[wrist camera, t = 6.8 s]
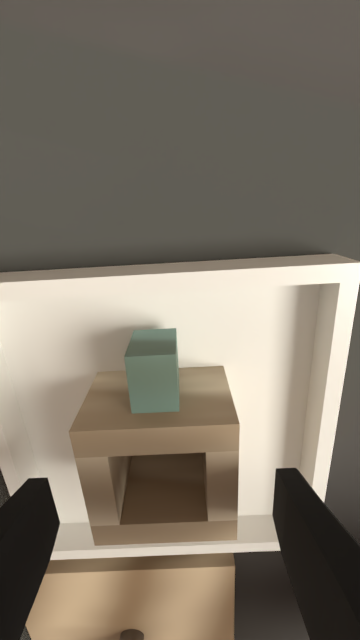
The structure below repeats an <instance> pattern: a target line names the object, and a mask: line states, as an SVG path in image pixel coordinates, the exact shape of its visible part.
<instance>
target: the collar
mask: <svg viewBox="0 0 360 640" xmlns="http://www.w3.org/2000/svg"><path fill="white" fill-rule="evenodd" d="M124 360H125V368H126V371H106V372H97V375H96V377H95V379H94V381H93V383H92V385H91V387H90V389H89V391H88V393H87V395H86V397H85V399H84V401H83V403H82V405H81V407H80V409H79V412H78V414H77V416H76V418H75V420H74V422H73V424H72V426H71V428H70V430H69V436H70V440H71V445H72V449H73V453H74V458H75V462H76V466H77V471H78V475H79V479H80V484H81V488H82V493H83V497H84V501H85V506H86V510H87V514H88V519H89V523H90V527H91V532H92V536H93V540H94V545H95V546H103V545H128V544H153V543H178V542H203V541H228V540H237V523H238V478H239V433H240V423H239V420H238V416H237V413H236V409H235V406H234V402H233V398H232V395H231V391H230V388H229V384H228V381H227V377H226V373H225V370H224V366H209V367H188V368H179V365H178V349H177V332H176V328H168V329H148V330H134V331H133V334H132V336H131V339H130V342H129V345H128V347H127V350H126V353H125V356H124Z"/></svg>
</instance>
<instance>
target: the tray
mask: <svg viewBox="0 0 360 640" xmlns="http://www.w3.org/2000/svg"><path fill="white" fill-rule="evenodd" d="M359 282H360V261H356V260H353V259H350V258H347V257H343V256H340V255H337V254H319V255H301V256H284V257H266V258H248V259H230V260H213V261H195V262H177V263H160V264H142V265H124V266H106V267H89V268H71V269H53V270H35V271H18V272H0V469H1V471H2V474H3V477H4V480H5V483H6V486H7V488H8V491H9V494H10V497H11V496H12V495H13V494H14V493H15V492H16V491H17V490H18V489H19V488H20V487H21V486H22V485H23V484H24V483H25V482H26V481H27V479H28V478H47V477H48V481H49V485H50V488H51V492H52V495H53V499H54V502H55V506H56V510H57V513H58V517H59V520H60V525H59V529H58V533H57V537H56V541H55V544H54V548H53V551H52V555H51V558H50V560H65V559H89V558H113V557H138V556H162V555H186V554H210V553H235V552H259V551H281V550H280V546H279V542H278V537H277V533H276V529H275V524H274V520H273V516H272V513H273V500H274V486H275V473H276V468H297V469H298V470H299V471H300V473H301V474H302V475H303V477H304V478H305V479H306V481H307V482H308V483H309V485H310V486H311V487H312V489H313V490H314V491H315V492H316V494H317V495H318V496H319V497H320V499H321V500H322V501H323V502H324V501H325V494H326V488H327V482H328V476H329V469H330V463H331V457H332V451H333V444H334V438H335V432H336V426H337V419H338V413H339V407H340V401H341V394H342V388H343V382H344V376H345V370H346V363H347V357H348V351H349V345H350V338H351V332H352V326H353V320H354V313H355V307H356V301H357V295H358V288H359ZM168 328H176V332H177V349H178V365H179V368H188V367H209V366H224V370H225V373H226V377H227V381H228V384H229V388H230V391H231V395H232V398H233V402H234V406H235V409H236V413H237V416H238V420H239V423H240V433H239V478H238V523H237V540H228V541H203V542H178V543H153V544H128V545H103V546H95V545H94V540H93V536H92V532H91V527H90V523H89V519H88V514H87V510H86V506H85V501H84V497H83V493H82V488H81V484H80V479H79V475H78V471H77V466H76V462H75V458H74V453H73V449H72V445H71V440H70V436H69V430H70V428H71V426H72V424H73V422H74V420H75V418H76V416H77V414H78V412H79V409H80V407H81V405H82V403H83V401H84V399H85V397H86V395H87V393H88V391H89V389H90V387H91V385H92V383H93V381H94V379H95V377H96V375H97V372H106V371H126V368H125V360H124V356H125V353H126V350H127V347H128V345H129V342H130V339H131V336H132V334H133V331H134V330H148V329H168Z"/></svg>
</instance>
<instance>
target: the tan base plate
mask: <svg viewBox="0 0 360 640" xmlns="http://www.w3.org/2000/svg"><path fill="white" fill-rule="evenodd" d="M234 601H235V563H234V557H233V553H210V554H186V555H162V556H138V557H113V558H89V559H65V560H50V562H49V564H48V567H47V570H46V572H45V575H44V578H43V580H42V583H41V585H40V588H39V591H38V593H37V596H36V598H35V601H34V604H33V606H32V609H31V611H30V614H29V616H28V619H27V621H26V624H25V625H26V627H27V630H28V632H29V635H30V637H31V640H234Z"/></svg>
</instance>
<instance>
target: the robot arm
mask: <svg viewBox="0 0 360 640" xmlns="http://www.w3.org/2000/svg"><path fill="white" fill-rule="evenodd" d="M272 516H273V520H274V524H275V529H276V533H277V537H278V542H279V546H280V550H281V554H282V557H283V560H284V563H285V566H286V569H287V572H288V575H289V578H290V581H291V584H292V587H293V590H294V593H295V596H296V599H297V602H298V605H299V608H300V611H301V614H302V617H303V620H304V623H305V626H306V629H307V632H308V635H309V638H310V640H360V545H359V544H358V543H357V541H356V540H355V539H354V538H353V537H352V536H351V535H350V533H349V532H348V531H347V530H346V529H345V528H344V526H343V525H342V524H341V523H340V522H339V521H338V519H337V518H336V517H335V516H334V515H333V513H332V512H331V511H330V510H329V509H328V507H327V506H326V505H325V504H324V502H323V501H322V500H321V499H320V497H319V496H318V495H317V494H316V492H315V491H314V490H313V489H312V487H311V486H310V485H309V483H308V482H307V481H306V479H305V478H304V477H303V475H302V474H301V473H300V471H299V470H298V469H297V468H276V473H275V486H274V500H273V513H272ZM59 525H60V520H59V517H58V513H57V510H56V506H55V502H54V499H53V495H52V492H51V488H50V485H49V481H48V477H47V478H28V479H27V481H26V482H25V483H24V484H23V485H22V486H21V487H20V488H19V489H18V490H17V491H16V492H15V493H14V494H13V495H12V496H11V497H10V498H9V499H8V500H7V501H6V502H5V504H4V505H3V506H2V507H1V508H0V640H19V639H20V637H21V634H22V632H23V629H24V627H25V624H26V621H27V619H28V616H29V614H30V611H31V609H32V606H33V604H34V601H35V598H36V596H37V593H38V591H39V588H40V585H41V583H42V580H43V578H44V575H45V572H46V570H47V567H48V564H49V562H50V558H51V555H52V551H53V548H54V544H55V541H56V537H57V533H58V529H59Z"/></svg>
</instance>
